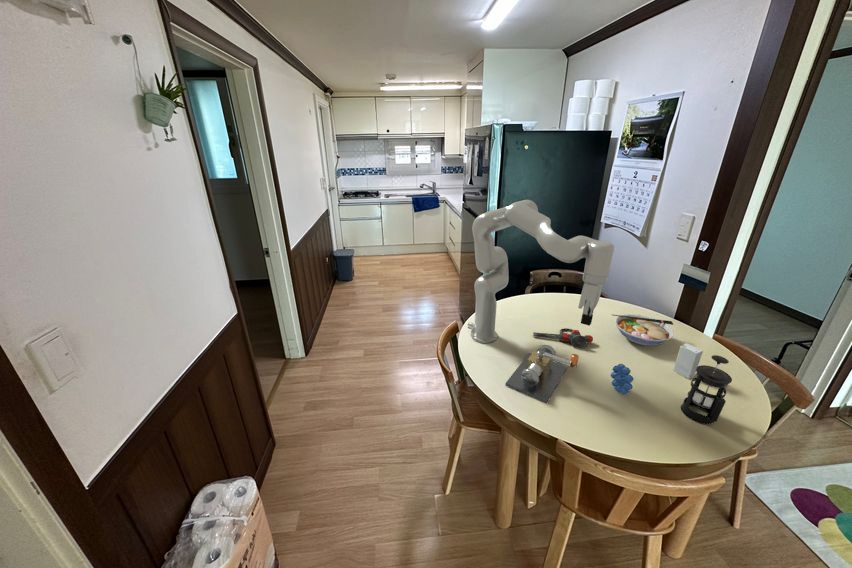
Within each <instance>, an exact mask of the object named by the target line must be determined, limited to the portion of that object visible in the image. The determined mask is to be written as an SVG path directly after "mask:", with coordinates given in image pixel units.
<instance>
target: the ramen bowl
mask: <svg viewBox="0 0 852 568" xmlns="http://www.w3.org/2000/svg"><path fill="white" fill-rule="evenodd" d="M612 316H613V317H616V318H615V325H616V328H617V329H618V331H619V332H620V334H621V335H622V336H623V337H625V338H626V339H627V340H629V341H631V342H632V343H635V344H639V345H642V346H657V345H659V346H660V345H661V344H665V342H667V341H669V340H670V339H671V338H673V337H674V330H673V329H672V328H671V327H670V326H671V325H672V326H674V323H673V320H665V319H657V318H653V317H650V316H647V315H646V316H645V315H641V314H635V313H634V314H631V313H628V314H627V313H626V314H622V315H621V314H619V315H618V314H612ZM669 325H670V326H669Z"/></svg>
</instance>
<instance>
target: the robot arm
mask: <svg viewBox="0 0 852 568" xmlns="http://www.w3.org/2000/svg"><path fill="white" fill-rule="evenodd" d="M551 221H552V219H550V217H548V216H546V215H545V214H543V213H541V212H539V209H538V206H537V204H536V203H535V202H534V201H533V200H530V199H524V200H519V201H515V202H513V203H511V204H510V205H508V206H504V207H501V208H498V209H494V210H489V211H486V212H484V213H481V214H479V215H478V216H477V217H476V218H475V219H474V221H473V223H472V230H471V231H472V236H473V242H474V243H473V244H474V255H475V256H474V257H475V266H476V269H477V270H478V272H481V273H483V275H481V276H479V277H478V278H477V279H476V280H475V281H474V295H475V305H474V306H475V311H474V312H475V313H474V323H473V322H470V321H469V322H468V323H467V329H470V330H471V333H470V337H471V339H472V340H474V341H476V342H477V343H481V344H489V343H490V344H491V343H493V342H495V341H497V339H498V333H497V331H496V318H497V317H496V316H497V304H498V303H497V299H496V293H498V292H499V291H501V290H503V289H505V288H506V287H507V285H508V283H509V278H510V277H509V276H510V275H509V261H508V260H509V258H508V255H507V252H506V250H504V248H502V247H501V246H495V239H494V236H493V234H492V233H494V232H498V231H501V230H504V229H507V228H510V227H512V226H515V227H516V228H517V229H519V230H521V231H523V232H524V233H526V234H528V235H530V236H532V237H533V238H535V239H536V241H537V243H538V245H540V247H541V249H543V250H544V251H545V252H546V253H547V254H548V255H551V256H552V257H554V258H555V259H557V260H559V261H560V262H563V263H567V264H572V263H576V262H578V261H580V260H581V259H584V258H585V263H584V270H583V273H582V274H583V275H582V281H583V286H582V288H581V289H582V290H581V293H580V298H579V303H578V306H577V307H578V309H580V310H581V309H582V314H581V319H580V324H581V325H586V326H591V325H592V321H593V317H594V311H595V309H596V307H597V306H598V304H599V302H600V298H601V293H602V289H603V286H604V285H607V282H608V278H609V273H610V270H611V264H612V261H613V255H614V251H615V246H614V244H613V243H612V242H610V241H608V240H607V241H606V240H597V239H594V238H592V237H589V236H585V235H577V236H574V237H571V238H569V239H566V238H564V237H562V236H561V235H559V234H557V232H555V231H554V230H553V229H552V227H551V223H552V222H551Z"/></svg>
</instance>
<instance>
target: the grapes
mask: <svg viewBox="0 0 852 568" xmlns="http://www.w3.org/2000/svg"><path fill="white" fill-rule="evenodd" d="M631 372H632V370H631V369H630V368H629V367H627V366H626V365H625V364H623V363H618V364H617V365H614V366H613V367H612V372H611V373H610V377H611V378H612V379H613V380H612V381H611V383H610V384H611V385H612V386H613V387H614V390H615V392H616V393H619V394H622V395H628V394H629V392H630V391H631V390H632V389H634V386H633V384H632V383H633V381H634V377H633V375H631Z"/></svg>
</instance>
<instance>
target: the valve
mask: <svg viewBox="0 0 852 568" xmlns="http://www.w3.org/2000/svg"><path fill="white" fill-rule="evenodd" d="M563 331H568V332H570V333H568V332H563ZM532 336H533V337H536V338H537V337H538V338H548V339H549V338H550V339H558V340H559V341H561V342H563V343H568V342H570V344H571V346H572V347H573V348H574V349H575V348H576V349H583V348H585V347H586V346H587V343H588V344H590V343H592V342H593V340H594V337H593V335H590V334H586V335H581V333H580V330H579V329H572V328H561V329H560V330H559V334H558V333H557V334H556V333H549V332H548V333H546V332H535V331H534V332H533V333H532Z"/></svg>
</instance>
